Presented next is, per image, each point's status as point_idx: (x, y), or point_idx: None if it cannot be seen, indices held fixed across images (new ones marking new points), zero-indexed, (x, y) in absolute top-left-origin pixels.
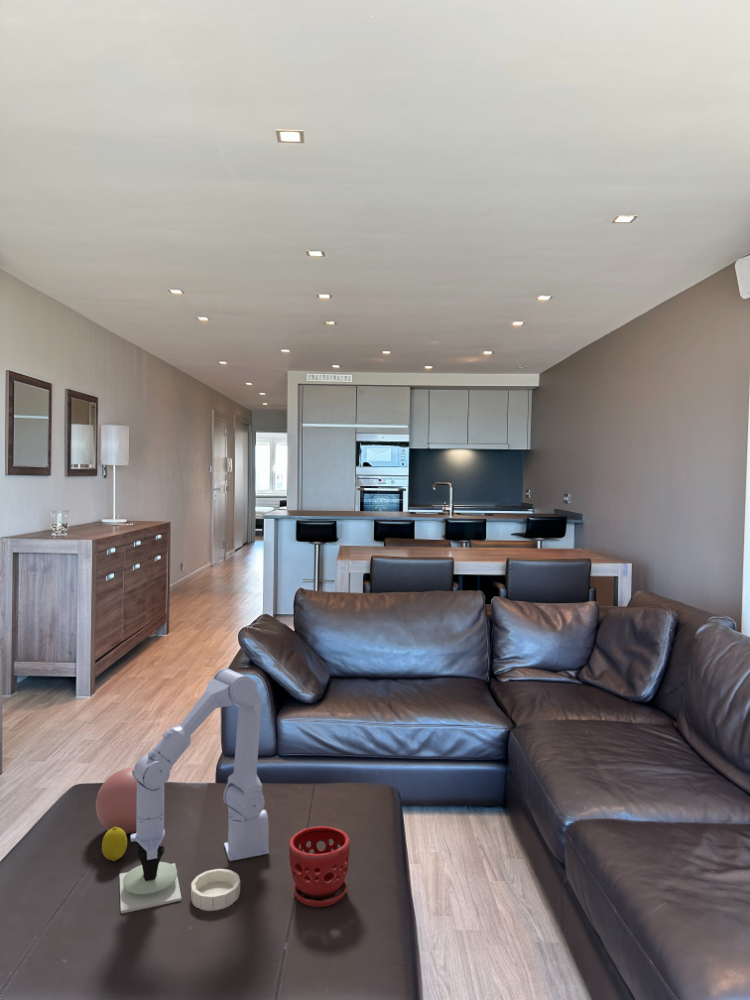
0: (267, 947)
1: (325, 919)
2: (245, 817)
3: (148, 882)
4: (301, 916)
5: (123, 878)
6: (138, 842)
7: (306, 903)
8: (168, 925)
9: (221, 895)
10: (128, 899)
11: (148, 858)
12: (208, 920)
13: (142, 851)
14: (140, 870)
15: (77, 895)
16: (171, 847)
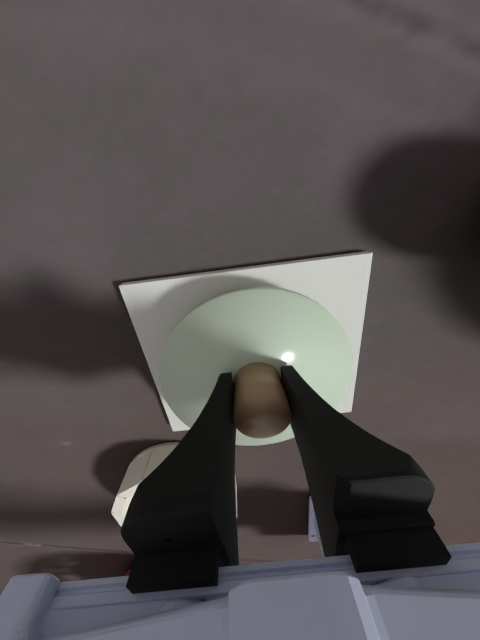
0: (23, 530)
1: (103, 572)
2: None
3: (216, 379)
4: (110, 557)
5: (330, 272)
6: (179, 626)
7: (124, 575)
8: (71, 405)
9: (119, 522)
10: (184, 304)
11: (3, 597)
12: (95, 468)
13: (157, 538)
14: (310, 347)
15: (288, 49)
16: (455, 392)
